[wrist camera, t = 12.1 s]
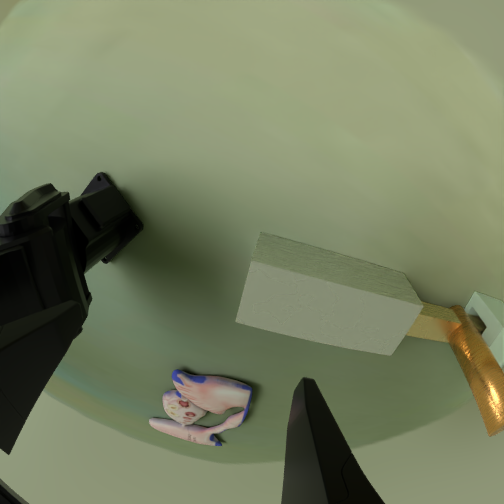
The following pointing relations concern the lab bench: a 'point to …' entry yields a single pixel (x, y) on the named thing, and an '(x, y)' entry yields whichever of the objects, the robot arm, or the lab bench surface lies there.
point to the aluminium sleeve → (326, 297)
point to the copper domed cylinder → (467, 356)
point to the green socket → (490, 322)
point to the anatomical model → (201, 406)
